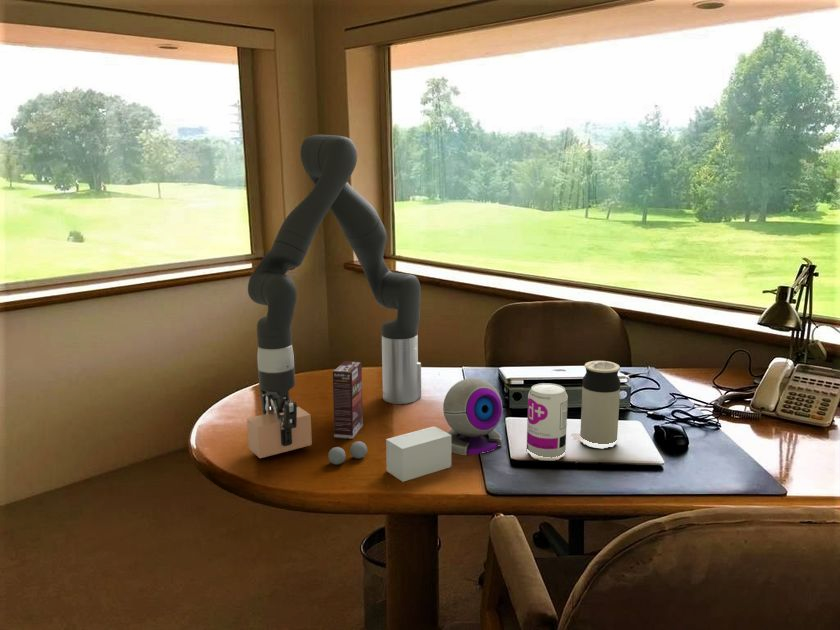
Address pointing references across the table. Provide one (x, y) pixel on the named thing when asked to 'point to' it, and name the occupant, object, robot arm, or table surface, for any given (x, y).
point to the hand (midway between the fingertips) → (280, 439)
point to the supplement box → (347, 399)
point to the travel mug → (600, 402)
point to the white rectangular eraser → (418, 453)
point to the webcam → (473, 416)
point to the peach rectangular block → (277, 434)
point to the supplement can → (547, 420)
